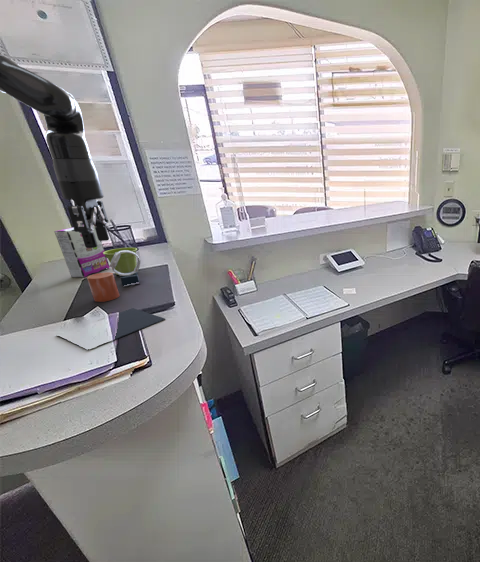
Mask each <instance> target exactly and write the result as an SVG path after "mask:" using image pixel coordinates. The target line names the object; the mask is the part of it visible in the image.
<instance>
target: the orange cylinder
mask: <svg viewBox="0 0 480 562" xmlns="http://www.w3.org/2000/svg"><path fill="white" fill-rule="evenodd" d="M86 280H87V283H88V286H89V289H90V292H91V296H92V298H93V302H97V303H104V302H109V301H113V300H116V299H118V298H119V297H120V296H121V294H120V292H119V288H118V285H117V281H116V278H115V275H114V272H111V271H105V272H98V273H95V274H92V275H90V276H87V277H86Z"/></svg>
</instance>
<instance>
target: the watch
mask: <svg viewBox="0 0 480 562" xmlns="http://www.w3.org/2000/svg"><path fill="white" fill-rule="evenodd" d="M126 252H127V253H131V254H133V255H135V256H136V262H137V265H136V267H135V269H134V271H133V272H128V273H121V272H118V271H117V270H115V269H114V268H115V267H116V265H117V263H118V261H119V258H120V254H121V253H126ZM109 266H110V268H111V271H112V272H113V273H116V274H118V275H121V276H119V277H120V282H121V285H122V287H123V286H124V285H127V284H131V283H136V282H140V278H139V274H138V271H139V269H140V266H141V259H140V256H139V255H138V254H137V252H136V253H134V252H132V251H129V250H127V251H126V250H122V251H119V252H118V253H117V252H115V254H114V256H113V258H112V260H111V263H110V262H109ZM116 274H115V275H116Z"/></svg>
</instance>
